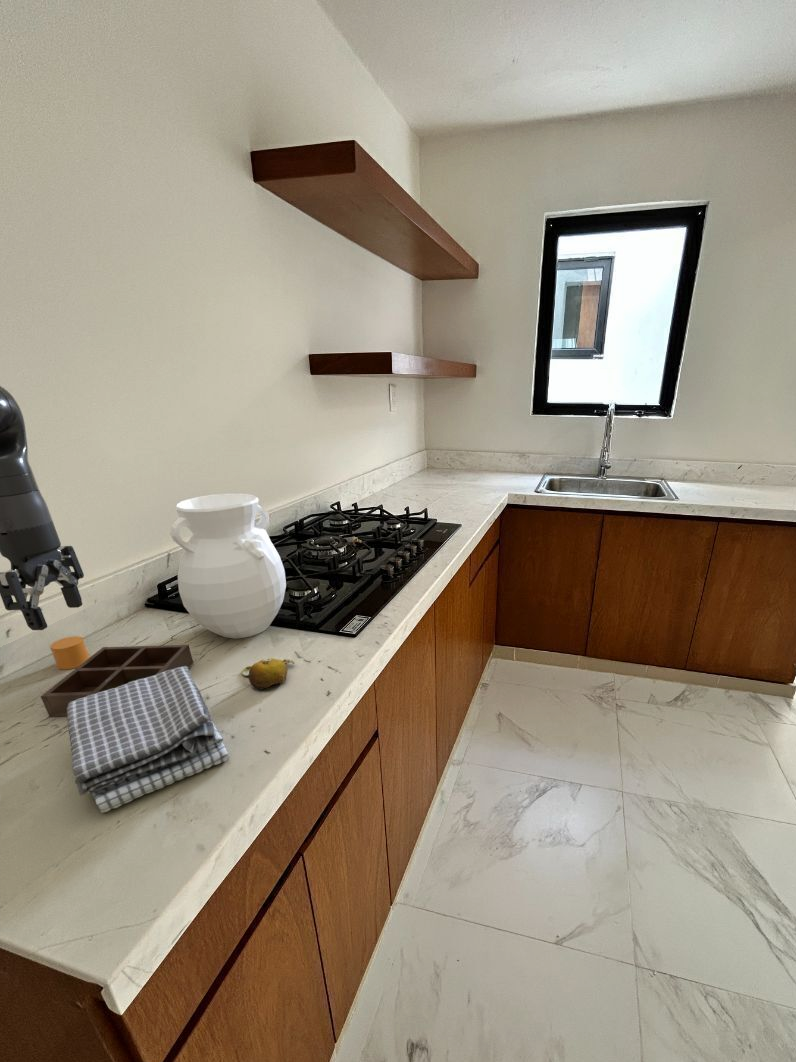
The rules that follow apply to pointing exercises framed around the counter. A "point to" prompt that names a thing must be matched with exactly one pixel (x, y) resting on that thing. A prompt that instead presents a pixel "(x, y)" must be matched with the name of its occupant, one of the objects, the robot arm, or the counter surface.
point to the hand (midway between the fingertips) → (58, 617)
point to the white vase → (228, 565)
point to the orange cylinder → (69, 652)
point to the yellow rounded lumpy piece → (267, 673)
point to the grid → (113, 672)
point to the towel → (141, 737)
